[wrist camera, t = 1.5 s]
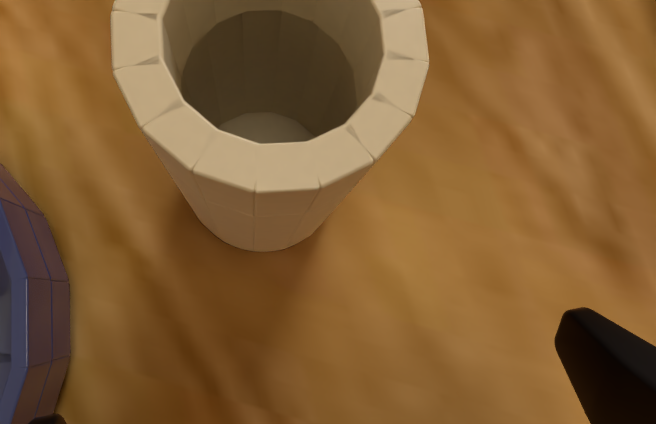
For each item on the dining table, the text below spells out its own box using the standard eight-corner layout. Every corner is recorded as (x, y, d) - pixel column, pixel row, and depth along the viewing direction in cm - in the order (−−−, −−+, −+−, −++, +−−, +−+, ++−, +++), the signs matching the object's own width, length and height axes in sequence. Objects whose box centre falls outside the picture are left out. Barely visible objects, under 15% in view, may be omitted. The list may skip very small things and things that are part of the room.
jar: (341, 246, 22) (445, 181, 10) (192, 257, 22) (114, 202, 9) (328, 107, 23) (409, -102, 11) (184, 112, 22) (105, -109, 10)
